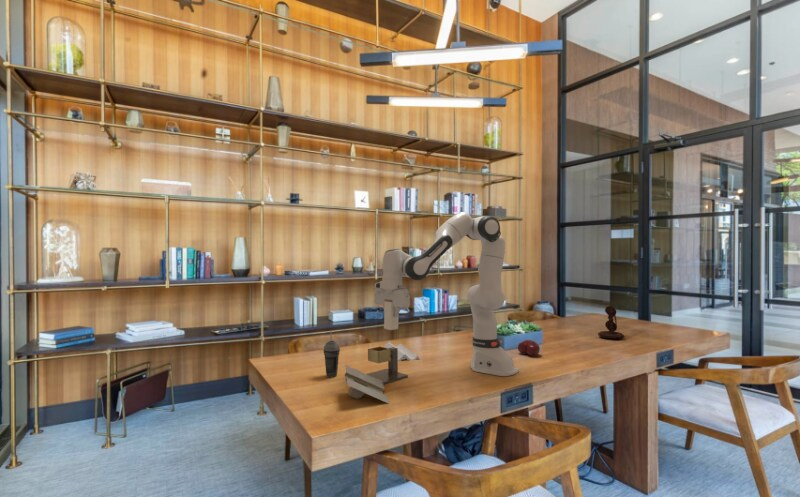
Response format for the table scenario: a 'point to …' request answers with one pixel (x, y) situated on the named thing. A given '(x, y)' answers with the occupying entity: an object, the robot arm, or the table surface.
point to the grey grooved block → (364, 385)
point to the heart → (529, 347)
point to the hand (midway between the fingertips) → (391, 316)
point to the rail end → (390, 316)
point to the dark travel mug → (331, 358)
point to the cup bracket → (391, 356)
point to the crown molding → (403, 352)
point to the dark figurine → (611, 325)
